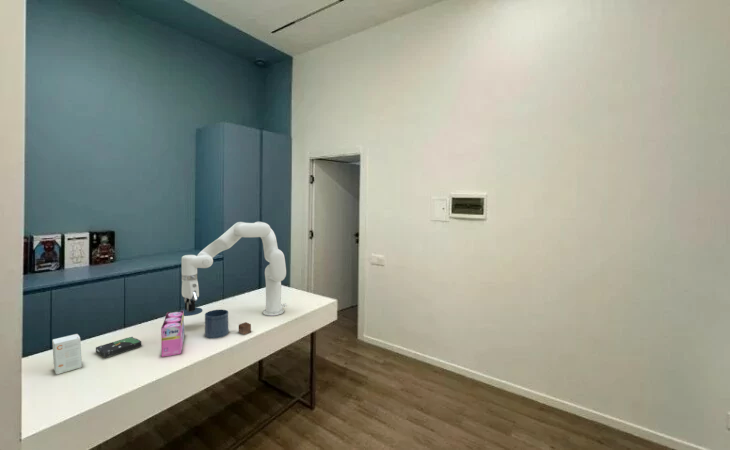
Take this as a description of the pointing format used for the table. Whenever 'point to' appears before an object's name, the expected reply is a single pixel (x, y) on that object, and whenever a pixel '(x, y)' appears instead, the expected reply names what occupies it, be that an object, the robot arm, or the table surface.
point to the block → (244, 328)
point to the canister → (216, 323)
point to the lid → (190, 313)
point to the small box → (67, 353)
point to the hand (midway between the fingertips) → (190, 309)
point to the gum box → (172, 333)
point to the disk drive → (118, 347)
